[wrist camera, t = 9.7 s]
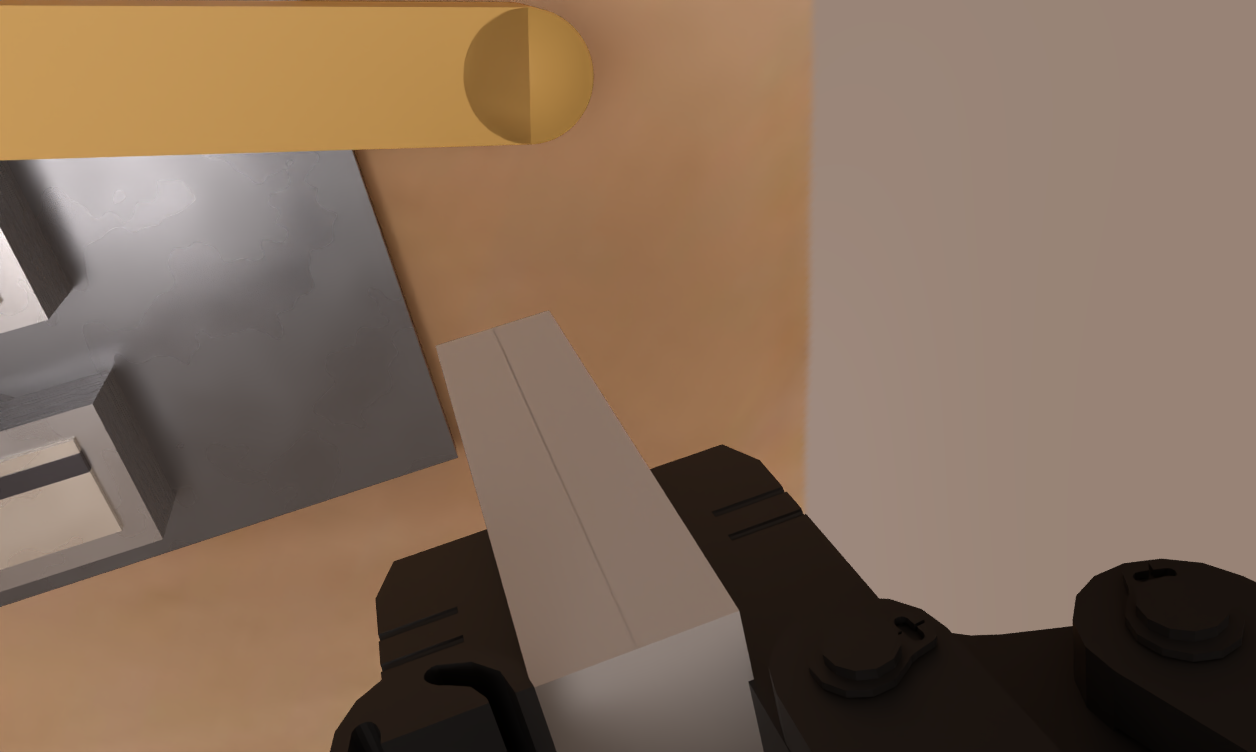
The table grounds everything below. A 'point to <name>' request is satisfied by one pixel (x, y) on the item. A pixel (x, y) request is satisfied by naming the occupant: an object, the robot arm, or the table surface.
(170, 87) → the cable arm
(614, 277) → the table surface
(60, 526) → the chassis plate
